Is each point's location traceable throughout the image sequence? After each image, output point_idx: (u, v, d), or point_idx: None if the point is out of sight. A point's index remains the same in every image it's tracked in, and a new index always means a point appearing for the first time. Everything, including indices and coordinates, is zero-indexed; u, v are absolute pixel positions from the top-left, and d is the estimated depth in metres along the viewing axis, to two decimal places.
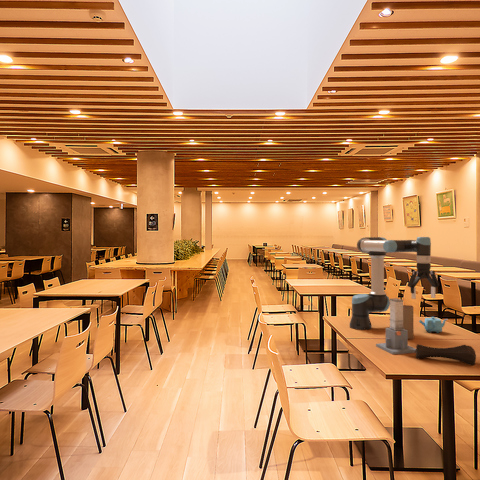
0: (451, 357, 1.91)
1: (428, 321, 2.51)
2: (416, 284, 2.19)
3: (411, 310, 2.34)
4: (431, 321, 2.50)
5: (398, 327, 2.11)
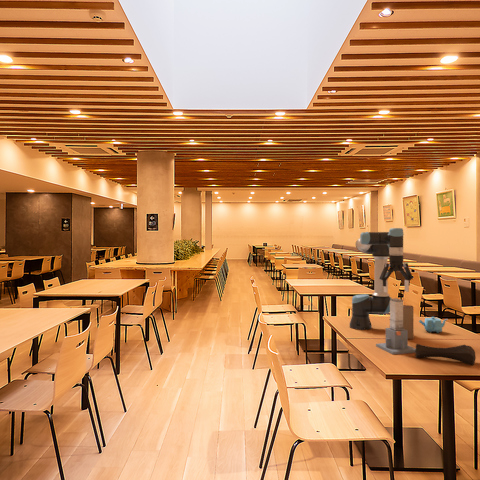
0: (450, 357, 1.91)
1: (428, 321, 2.51)
2: (388, 277, 2.11)
3: (411, 310, 2.34)
4: (431, 321, 2.50)
5: (398, 327, 2.11)
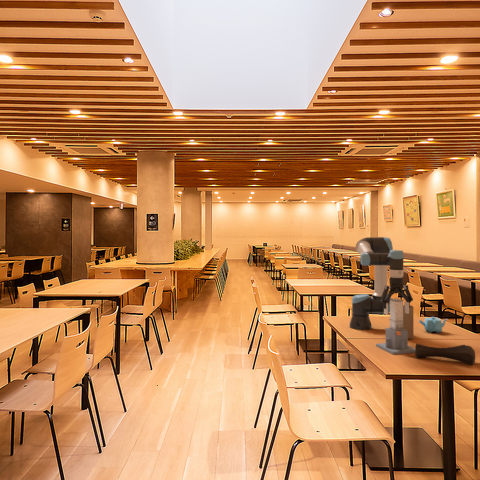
0: (450, 357, 1.91)
1: (428, 321, 2.51)
2: (388, 299, 2.11)
3: (411, 310, 2.34)
4: (431, 321, 2.50)
5: (398, 327, 2.11)
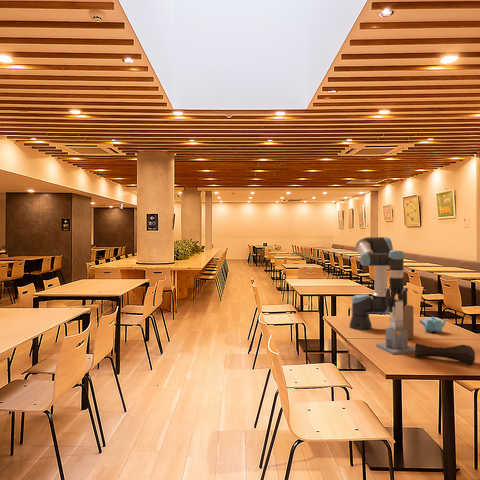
0: (450, 357, 1.91)
1: (428, 321, 2.51)
2: (393, 302, 2.12)
3: (411, 310, 2.34)
4: (431, 321, 2.50)
5: (398, 327, 2.11)
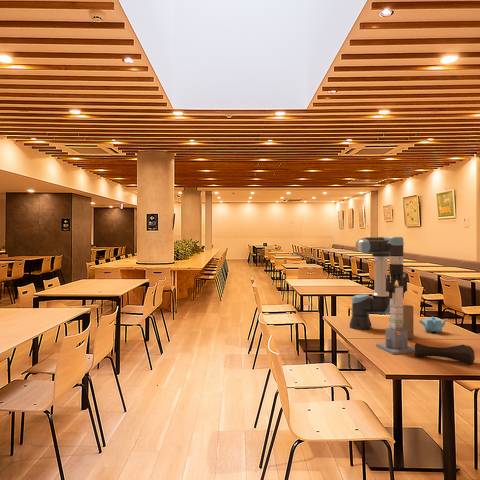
0: (449, 356, 1.92)
1: (428, 321, 2.51)
2: (393, 288, 2.12)
3: (411, 310, 2.34)
4: (431, 321, 2.50)
5: (398, 313, 2.11)
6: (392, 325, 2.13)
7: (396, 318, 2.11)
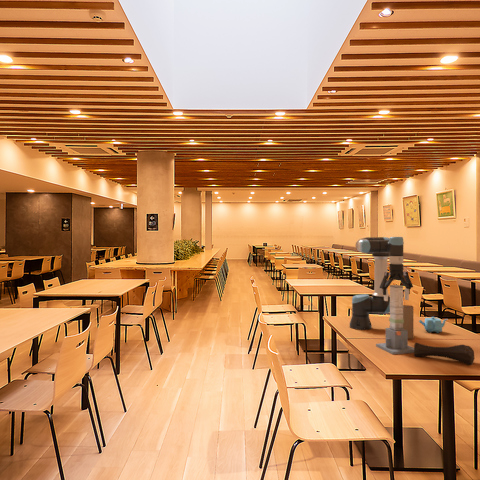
0: (448, 356, 1.92)
1: (428, 321, 2.51)
2: None
3: (411, 310, 2.34)
4: (431, 321, 2.50)
5: (398, 313, 2.11)
6: (392, 325, 2.13)
7: (396, 318, 2.11)
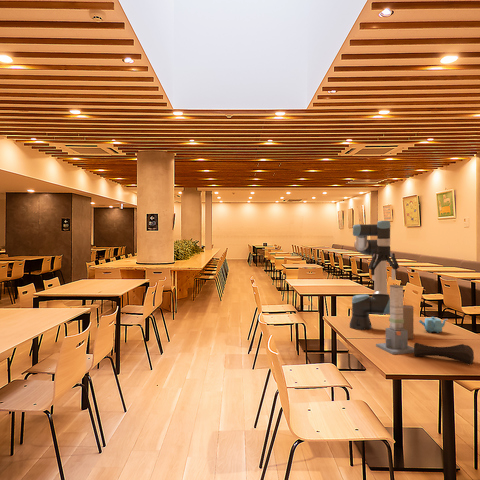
0: (448, 356, 1.92)
1: (428, 321, 2.51)
2: (376, 266, 2.26)
3: (411, 310, 2.34)
4: (431, 321, 2.50)
5: (398, 313, 2.11)
6: (392, 325, 2.13)
7: (396, 318, 2.11)
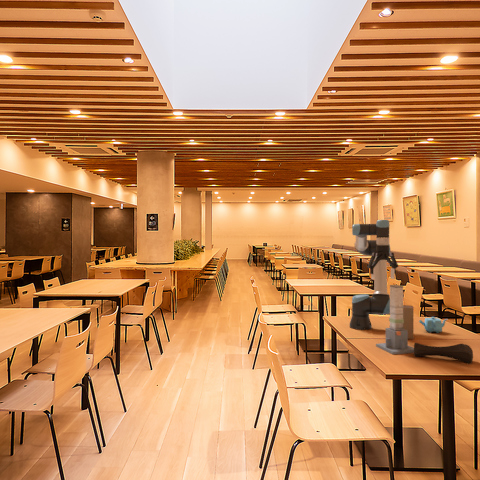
0: (448, 355, 1.93)
1: (428, 321, 2.51)
2: (375, 265, 2.27)
3: (411, 310, 2.34)
4: (431, 321, 2.50)
5: (398, 313, 2.11)
6: (392, 325, 2.13)
7: (396, 318, 2.11)
